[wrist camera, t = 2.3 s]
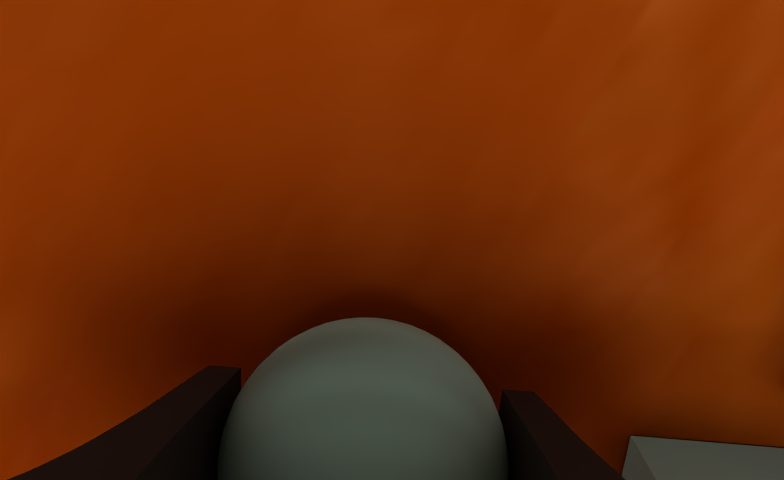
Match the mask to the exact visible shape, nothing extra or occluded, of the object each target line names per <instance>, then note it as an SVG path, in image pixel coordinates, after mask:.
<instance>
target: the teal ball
mask: <svg viewBox="0 0 784 480" xmlns="http://www.w3.org/2000/svg"><path fill="white" fill-rule="evenodd" d="M508 473H509V464H508V451H507V444H506V438H505V434H504V430H503V425H502V422H501V419H500V417H499V414H498V411H497V409H496V406H495V404H494V401H493V399H492V397H491V395H490V394H489V392H488V390H487V388H486V387H485V385H484V383H483V382H482V380H481V379H480V378H479V376H478V375H477V374H476V372H475V371H474V370H473V369H472V367H471V366H470V365H469V364H468V363H467V362H466V361H465V360H464V359H463V358H462V357H461V356H460V355H459V354H458V353H457V352H456V351H455V350H453V349H452V348H451V347H449V346H448V345H447V344H445V343H444V342H443V341H441V340H440V339H439V338H437V337H435V336H433V335H431V334H430V333H428V332H426V331H424V330H422V329H419V328H417V327H414V326H412V325H409V324H406V323H402V322H398V321H395V320H389V319H382V318H367V317H358V318H348V319H341V320H336V321H332V322H327V323H324V324H322V325H319V326H316V327H313V328H311V329H309V330H307V331H305V332H303V333H301V334H299V335H297V336H295V337H293V338H291V339H290V340H288V341H287V342H285V343H284V344H283V345H281V346H280V347H278V348H277V349H276V350H275V351H274V352H273V353H272V354H270V355H269V356H268V357H267V358H266V359H265V360H264V361H263V362H262V363H261V364H260V365H259V366H258V367H257V368H256V370H255V371H254V372H253V373H252V374H251V376H250V377H249V378H248V380H247V381H246V383H245V384H244V386H243V387H242V389H241V391H240V393H239V394H238V396H237V398H236V399H235V401H234V403H233V405H232V408H231V410H230V413H229V415H228V418H227V421H226V423H225V426H224V429H223V433H222V438H221V442H220V448H219V454H218V466H217V480H508Z"/></svg>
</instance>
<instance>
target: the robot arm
mask: <svg viewBox="0 0 784 480" xmlns="http://www.w3.org/2000/svg"><path fill="white" fill-rule="evenodd" d="M240 391H241V368H233V367H221V366H208V367H207V368H205V369H203V370H202V371H200V372H199V373H197V374H195V375H194V376H192V377H191V378H189V379H188V380H187V381H185V382H184V383H182V384H181V385H179V386H178V387H176V388H175V389H173V390H172V391H170V392H169V393H167V394H166V395H164V396H163V397H161V398H160V399H158V400H157V401H155V402H154V403H152V404H151V405H149V406H148V407H146V408H145V409H143V410H141V411H140V412H138V413H137V414H135V415H133V416H132V417H130V418H128V419H127V420H125V421H123V422H122V423H120V424H118V425H116V426H115V427H113V428H111V429H110V430H108V431H106V432H105V433H103V434H101V435H100V436H98V437H96V438H94V439H93V440H91V441H89V442H87V443H85V444H83V445H82V446H80V447H78V448H76V449H74V450H72V451H70V452H68V453H66V454H64V455H62V456H60V457H58V458H56V459H53V460H51V461H49V462H47V463H45V464H43V465H41V466H39V467H37V468H34V469H32V470H30V471H28V472H25V473H23V474H20V475H18V476H15V477H13V478H10V479H8V480H217V466H218V454H219V448H220V442H221V438H222V433H223V429H224V426H225V423H226V421H227V418H228V415H229V413H230V410H231V408H232V405H233V403H234V401H235V399H236V398H237V396H238V394H239V393H240ZM499 417H500V419H501V422H502V425H503V430H504V434H505V438H506V444H507V451H508V464H509V473H508V480H625V479H624V478H623V477H622V476H621V475H620V474H618V473H617V472H616V471H615V470H614V469H612V468H611V467H610V466H609V465H608V464H607V463H606V462H605V461H604V460H603V459H601V458H600V457H599V456H598V455H597V454H596V453H595V452H594V451H593V450H592V449H591V448H590V447H589V446H588V445H586V444H585V443H584V442H583V441H582V440H581V439H580V438H579V437H578V436H577V435H576V434H575V433H574V432H573V431H572V430H571V429H570V428H569V427H568V426H567V425H566V424H565V423H564V422H563V421H562V420H561V419H560V418H559V417H558V416H557V415H556V414H555V413H554V412H553V411H552V409H551V408H550V407H549V406H548V405H547V404H546V403H545V402H544V401H543V400H542V399H541V398H540V397H539V396H537V395H536V394H535V393H534V392H525V391H513V390H502V395H501V402H500V409H499Z"/></svg>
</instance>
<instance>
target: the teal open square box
mask: <svg viewBox="0 0 784 480" xmlns="http://www.w3.org/2000/svg"><path fill="white" fill-rule="evenodd" d="M622 477H623V478H624V479H625V480H784V448H775V447H762V446H750V445H738V444H726V443H714V442H702V441H690V440H677V439H665V438H653V437H641V436H630V441H629V445H628V450H627V454H626V458H625V463H624V467H623V472H622Z"/></svg>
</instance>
